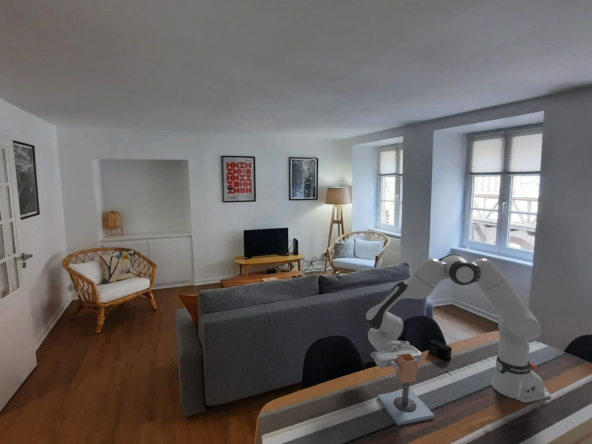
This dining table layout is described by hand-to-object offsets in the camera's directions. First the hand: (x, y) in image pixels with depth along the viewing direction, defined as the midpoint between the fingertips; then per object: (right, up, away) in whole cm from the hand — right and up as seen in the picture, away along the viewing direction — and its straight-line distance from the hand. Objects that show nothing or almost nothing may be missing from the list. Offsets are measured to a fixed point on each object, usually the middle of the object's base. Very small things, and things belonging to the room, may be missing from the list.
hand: (408, 367), depth 133 cm
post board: (0, -18, +3) cm, 18 cm away
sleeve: (0, -5, +2) cm, 5 cm away
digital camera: (+30, -13, +42) cm, 53 cm away
